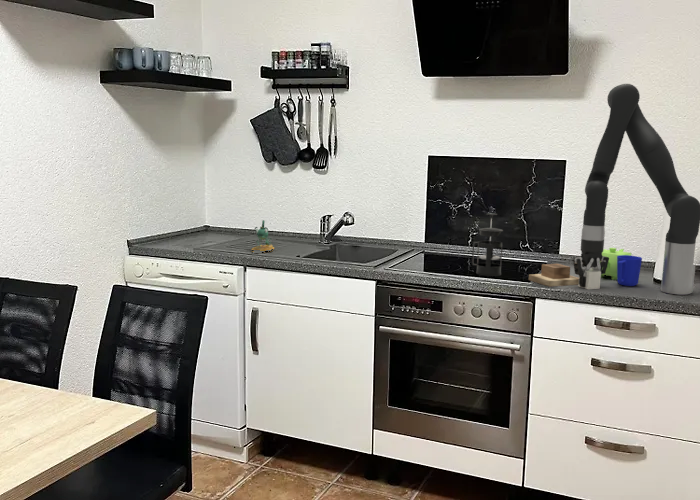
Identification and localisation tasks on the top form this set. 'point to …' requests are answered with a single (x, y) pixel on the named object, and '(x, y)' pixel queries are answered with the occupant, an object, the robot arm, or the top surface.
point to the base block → (555, 271)
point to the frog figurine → (262, 235)
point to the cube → (592, 279)
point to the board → (553, 280)
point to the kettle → (612, 261)
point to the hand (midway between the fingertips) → (589, 286)
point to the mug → (628, 270)
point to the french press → (488, 251)
